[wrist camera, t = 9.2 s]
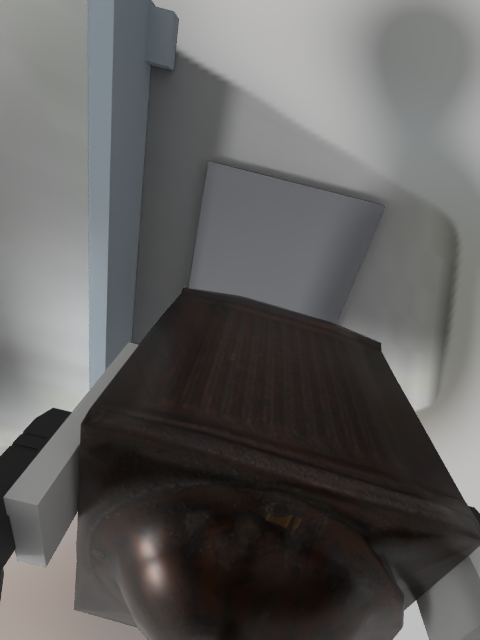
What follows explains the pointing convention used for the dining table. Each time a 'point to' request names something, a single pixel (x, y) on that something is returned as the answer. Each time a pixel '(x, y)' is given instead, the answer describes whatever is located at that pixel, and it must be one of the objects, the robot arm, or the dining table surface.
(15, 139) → the dining table surface
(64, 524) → the robot arm
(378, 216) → the slate mat
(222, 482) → the coffee grinder
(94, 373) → the low wall
